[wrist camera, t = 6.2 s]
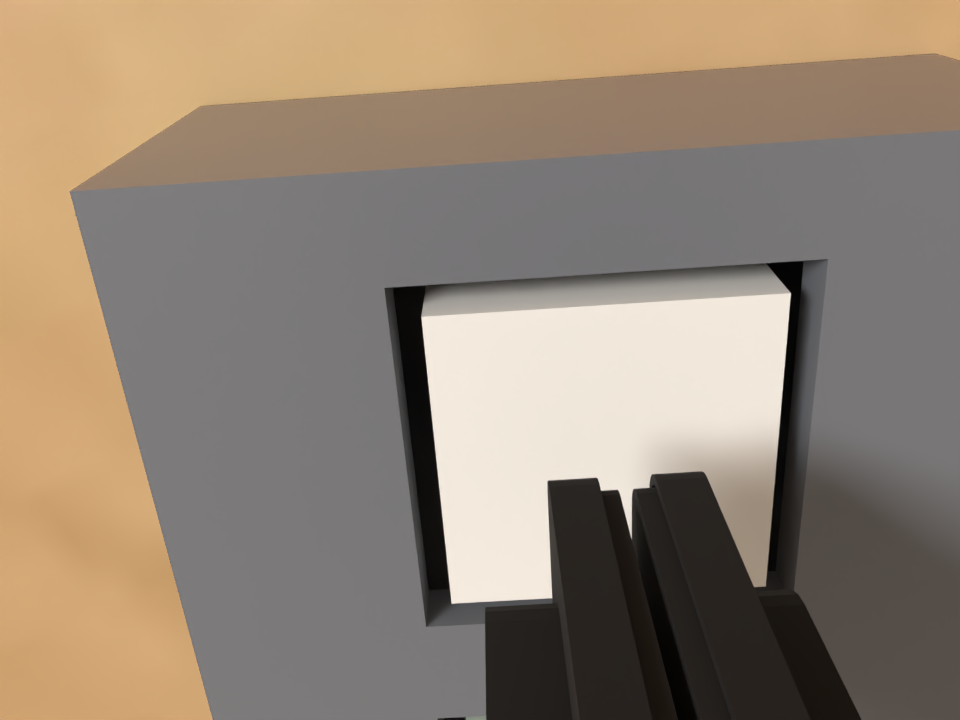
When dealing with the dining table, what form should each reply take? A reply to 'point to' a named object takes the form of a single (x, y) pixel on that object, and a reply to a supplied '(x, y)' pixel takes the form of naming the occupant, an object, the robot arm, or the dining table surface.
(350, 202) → the keypad housing
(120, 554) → the dining table surface
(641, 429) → the off-white key
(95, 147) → the dining table surface
